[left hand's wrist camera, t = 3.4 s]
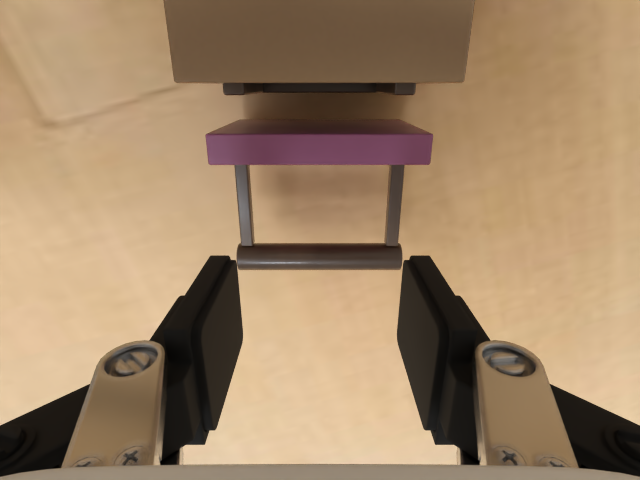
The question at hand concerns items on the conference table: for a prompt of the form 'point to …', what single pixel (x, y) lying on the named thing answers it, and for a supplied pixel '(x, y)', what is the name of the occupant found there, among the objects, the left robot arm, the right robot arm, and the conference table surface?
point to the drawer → (319, 149)
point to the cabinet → (319, 41)
